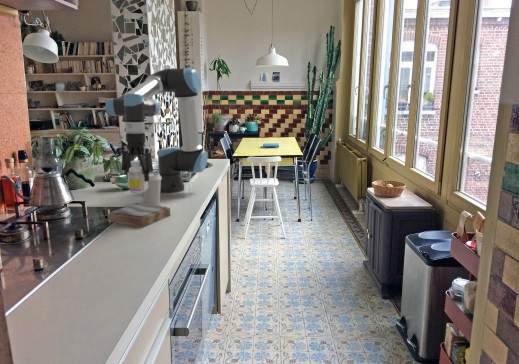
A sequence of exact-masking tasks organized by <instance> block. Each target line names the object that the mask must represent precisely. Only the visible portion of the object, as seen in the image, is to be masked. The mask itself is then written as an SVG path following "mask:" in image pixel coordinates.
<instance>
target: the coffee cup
mask: <svg viewBox="0 0 519 364" xmlns="http://www.w3.org/2000/svg"><path fill="white" fill-rule="evenodd" d="M161 179H162V178H161V176H160V174H159V173H158V172H157V173H156V172H155V173H154V172H150V173H149V181H148V189H146V191H145V192H142V193H143V198H144V204H147V205H155V206H161V192H160V186H161Z"/></svg>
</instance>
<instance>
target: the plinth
mask: <svg viewBox="0 0 519 364" xmlns="http://www.w3.org/2000/svg"><path fill="white" fill-rule="evenodd" d="M170 216H171V207H167V206H163V205H160V206H155V205H147V204H145V203H140V202H139V203H138V202H136V203H133V204H130V205H127V206H125V207H122V208H121V207H120V208H119V209H116V210H113V211H111V212H107V221H108V220H110V221H114V222H116V223H115V224H118V225H119V224H120V225H127V226H131V227H132V226H133V227H139V228H145V227H147V226H150V225H152V224H154V223H156V222H159V221H162V220H164V219H166V218H169V217H170Z"/></svg>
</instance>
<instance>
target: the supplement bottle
mask: <svg viewBox="0 0 519 364" xmlns="http://www.w3.org/2000/svg"><path fill="white" fill-rule="evenodd" d="M131 165H132V166H131V167H130V168H129V182H130V188H129V192H130V193H133V194H139V193H140V194H141V193H143V192H145V191H146V189H145V190H143V187H142V174H143V170H142V167H141V164H140V161H139V159H137V160H135V159H134V161H131Z"/></svg>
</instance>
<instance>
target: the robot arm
mask: <svg viewBox="0 0 519 364" xmlns="http://www.w3.org/2000/svg"><path fill="white" fill-rule="evenodd" d="M201 81H202V80H201V77H200V74H199V72H198V71H197V70H196V69H194V68H188V67H187V68H164V69H160V70H157V71H156V72H154V73H151V74H150V75H149V76H147V77H146V78H145V80H144V81H143V82H141V83H140V84H138V85H137V86H135V87H134V88H132V89H130V90H129V91H127V92H125V93H124V94H122V95H121V96H119V97H117V98H115V97H113V98H111V97H110V98H108V99H107V100H106V101H105V108H104V109H105V111H106V113H107V114H108V115H109V116H112V117H113V116H114V117H124V119H125V120H124V122H125V123H124V124H125V125H124V126H125V128H124V129H125V132H126V133H125V141H126V145H123V146H121V147H120V148H121V170H122V171H125V172H126V173H125V174H126V175H125V176H126V180H127V186H128V189H130V182H129V168H130V167H131V166H132V165H131V161H134V160H135V159H136V158H138V160H139V161H140V164H141V167H142V170H143V174H142V187H143V190H145V189H148V181H149V173H154V167H153V166H154V165H153V158H152V150H153V149H152V147H147V146H146V143H145V142H146V133H145V132H146V127H145V126H146V125H145V118H146V117H149V118H150V117H155V116H157V115H158V114H159V112H160V109H161V107H160V104H159V102H158V100H156V99H154V98H152V97H153V96H157V95H160V94H161V93H173V95H174V98H175V99H176V100H177V102H178V103H177V104H178V111H179V120H180V121H179V123H180V130H181V139H182V140H181V141H182V146H181V147H180V146H174V147H173V146H172V147H165V148H161V149H159V150H158V153H157V155H158V156H157V159H158V174H160V176H161V178H162V179H161V186H160V193H177V192H182V191H185V184H184V181H183V177H182V175H181V174H182V173H183V172H184V173H185V172H186V173H194V174H195V173H202V172H203V171H204V170H205V169H206V167H207V165H208V152H207V151H206V150H204V149H203V146H202V144H200V138H199V137H200V136H199V128H198V127H199V126H198V117H197V116H198V115H197V106H196V105H197V104H196V98H197V97H198V96H199V94H198V93H199V92H200V91H201V90H202V82H201ZM181 172H182V173H181Z"/></svg>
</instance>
